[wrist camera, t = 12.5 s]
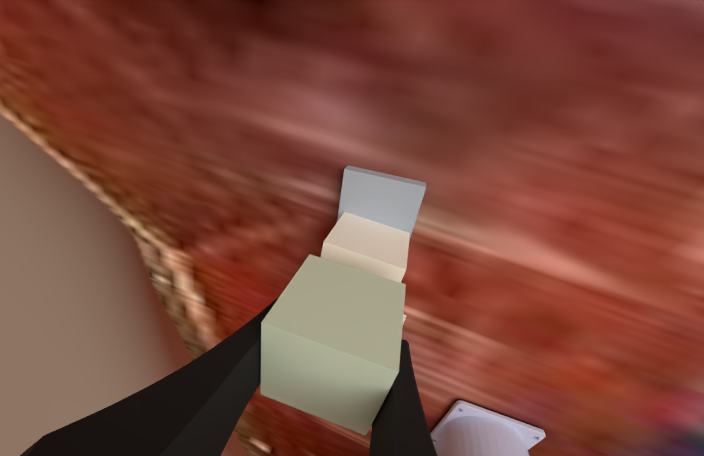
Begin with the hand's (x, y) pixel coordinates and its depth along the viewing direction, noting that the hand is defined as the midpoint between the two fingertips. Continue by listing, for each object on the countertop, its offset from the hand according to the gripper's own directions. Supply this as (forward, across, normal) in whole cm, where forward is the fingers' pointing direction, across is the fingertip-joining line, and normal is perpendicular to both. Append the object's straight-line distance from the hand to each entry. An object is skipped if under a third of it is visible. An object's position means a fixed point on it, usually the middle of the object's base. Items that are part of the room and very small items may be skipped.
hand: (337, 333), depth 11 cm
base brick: (+9, 0, 0) cm, 9 cm away
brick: (+7, 0, 0) cm, 7 cm away
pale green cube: (+2, 0, 0) cm, 2 cm away
